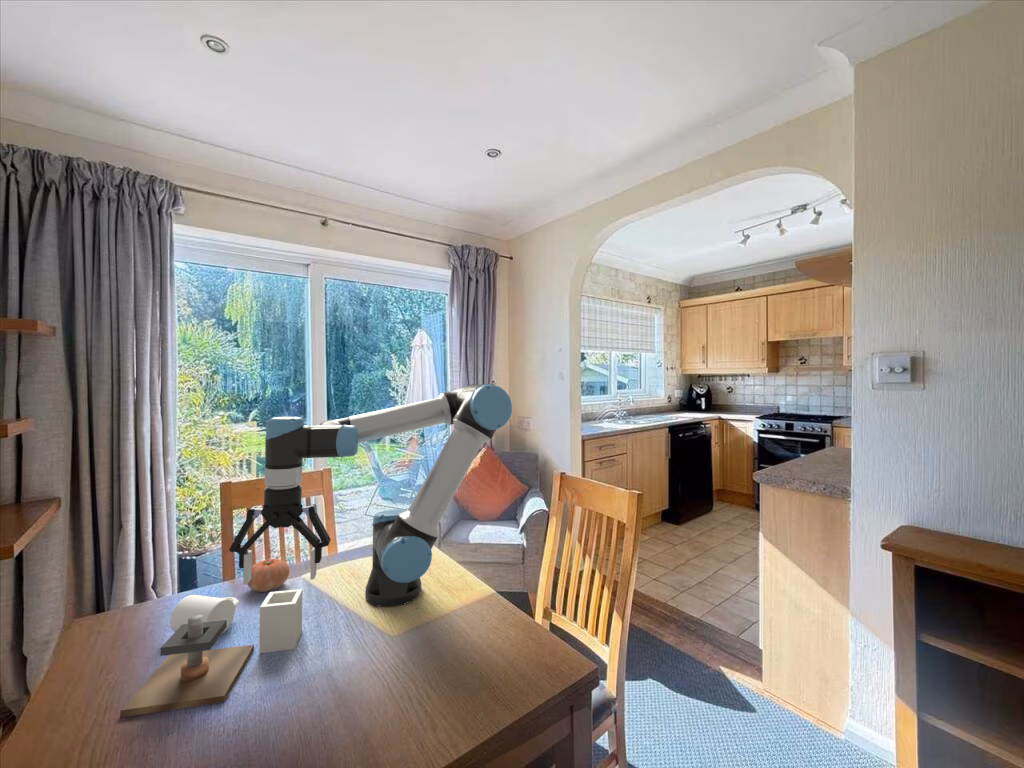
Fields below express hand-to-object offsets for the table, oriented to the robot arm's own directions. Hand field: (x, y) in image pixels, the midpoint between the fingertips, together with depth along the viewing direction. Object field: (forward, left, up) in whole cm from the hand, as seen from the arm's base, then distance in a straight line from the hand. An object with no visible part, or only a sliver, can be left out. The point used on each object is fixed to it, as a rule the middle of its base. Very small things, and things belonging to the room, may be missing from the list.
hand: (280, 579), depth 98 cm
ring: (+13, +10, -6) cm, 17 cm away
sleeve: (0, 0, -14) cm, 14 cm away
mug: (+18, -10, -15) cm, 25 cm away
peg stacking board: (+13, +10, -14) cm, 21 cm away
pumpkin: (+11, -29, -14) cm, 34 cm away
